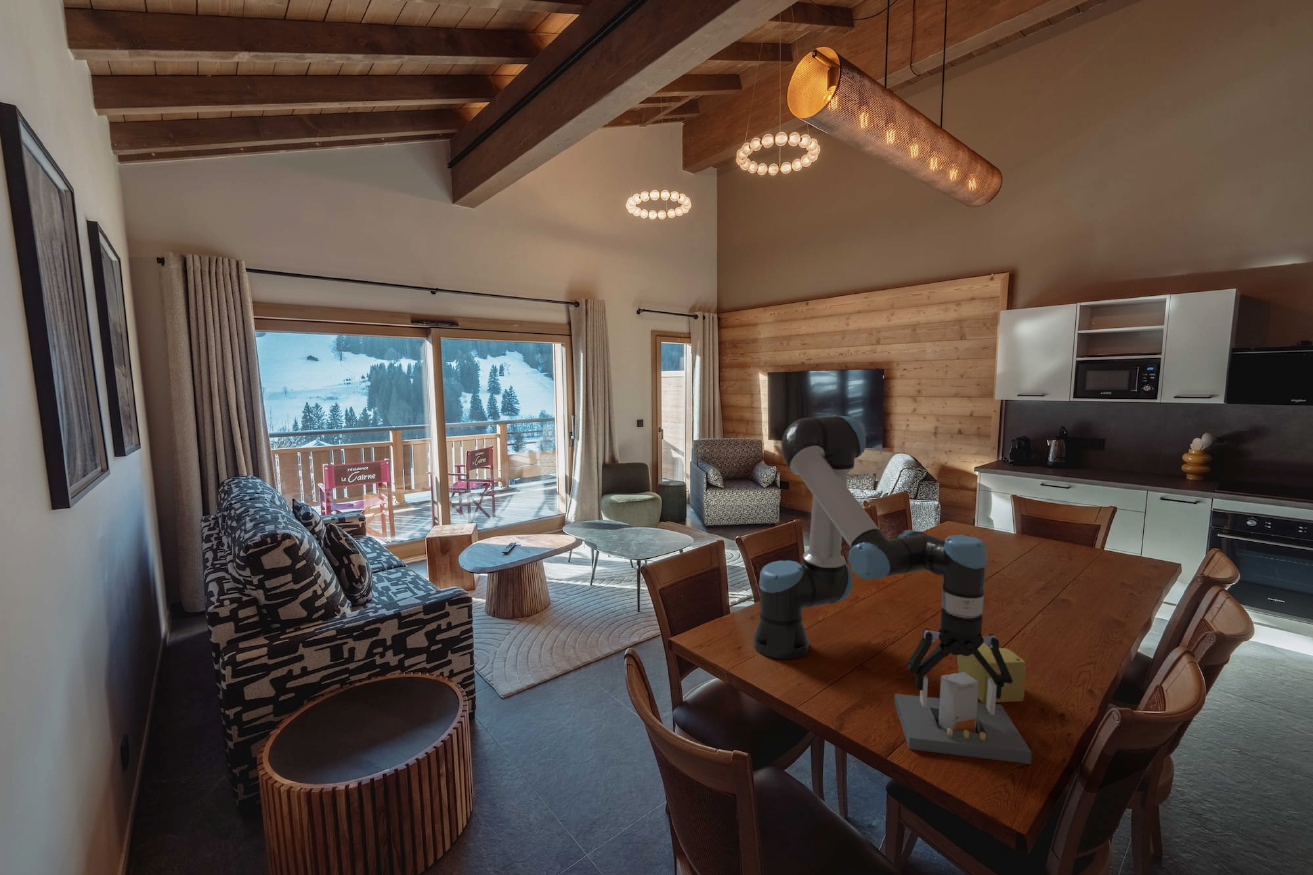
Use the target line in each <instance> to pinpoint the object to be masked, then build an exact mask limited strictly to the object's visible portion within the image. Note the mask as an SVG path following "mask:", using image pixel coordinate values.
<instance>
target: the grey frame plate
mask: <svg viewBox="0 0 1313 875" xmlns="http://www.w3.org/2000/svg"><path fill="white" fill-rule="evenodd" d="M939 705H940V697H929V696H927V707H922V704H921V701H920V695H913V694H912V695H910V694H903V693H902V694H901V693H894V706H895V710H896V712H897V716H898V718H899V721H900V725H901V728H902V732H903V736H904V738H905V741H906V744H907V747H908V750H911V751H912V750H913V751H921V752H929V753H930V752H931V753H937V754H939V753H940V754H945V755H953V756H954V755H955V756H963V757H970V758H976V759H977V758H978V759H985V760H995V761H1002V762H1010V763H1018V764H1027V765H1031V764H1032V750H1031V749H1030V748H1029V746H1028V744H1027V742H1026V741H1025V740H1024V738H1023V736H1022V735H1021V733H1020V732H1019V730H1018V729H1017V727H1016V725H1015V724H1014V723H1013V721H1012V719H1011V718H1010V716H1009V715H1008V713H1007V712H1006V710H1005V708H1004V707H1003V705H1002V704H997V703H995V715H991V714H990V713H989V711H988V709H987V708H986V703H983V702H981V701H980V702H978V701H977V717H976V729H977V731H978V732H979V733H978V732H976V733H972V732H969V731H968V730H964V731H954V730H953V729H951V728H947V730H946V729H940V728H939V727H938V723H937V721H936V720H939Z"/></svg>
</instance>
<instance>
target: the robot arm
mask: <svg viewBox="0 0 1313 875" xmlns="http://www.w3.org/2000/svg"><path fill="white" fill-rule="evenodd" d="M866 443H867V438H866V434H865V431H864V429H863V427H862V426H861V424H860V423H859V421H857V420H856V419H855V418H854V417H851V416H844V415H830V416H818V417H817V416H816V417H803V418H799V419H796V420H794V421H793V422H792V423H791V424H789V425H788V427H787V428H786V429H785V431H784V433H783V436H782V438H781V454H782V456H783V459H784V462H785V464H786V466H787V467H788V468H789V469H790V471H791V473H793V474H794V475H798V476H799V477H800V478H801V480H802V481H803V483H804V484H805V486H806V487H807V488H808V490H809V491H810V492H811V494H812V503H811V504H812V505H811V520H810V531H809V532H810V533H809V546H808V548H809V549H808V550H807V551H805V552H804V553H803V555H802V563H801V564H800V563H799V562H797V561H793V560H783V559H782V560H776V561H772V562H769V563H767V564H766V565H764V566H763V567H762V568H761V570H760V574H759V582H758V586H759V619H758V623H757V626H756V628H755V631H754V633H753V647H754V649H755V650H756V652H758V653H760V654H762V656H763V655H764V656H766V657H768V658H771V659H772V658H773V659H778V660H794V659H795V660H796V659H799V658H801V657H803V656H805V655H806V654H808V652H809V648H810V647H809V646H810V645H809V643H810V642H809V639H808V638H809V637H808V635H807V632H806V628H805V625H804V623H803V609H807V608H812V607H817V606H818V607H819V606H822V605H828V604H831V605H832V604H836V603H837V602H840V601H843V600H845V599H846V598H848V596H849V595H850V594H851V592H852V590H853V585H854V577H853V574H852V573H851V572H853V573H854V574H855V575H856V577H858V578H860V579H863V580H874V579H875V580H876V579H884V578H885V577H890V576H895V575H899V574H907V573H913V572H918V571H919V572H920V571H927V572H930V573H932V574H935V575H937V576H941V577H942V594H941V595H942V596H941V607H942V608H941V612H940V629H939V630H938V631H935V630H930V628H928V627H925V628H923V633H922V637H921V639H920V641H919V643H918V644H917V646H916V648H915V649H914V651H913V654H912V655H911V657H910V659H909V660H908V662H907V664H906V667H907V668H908V672H909V673H910V674H911V675H912V674H914V675H915V686H916V689H917V690H918V691H919V696H920V701H921V704H922V707H927V697H928V687H929V686H928V683H929V678H928V676H927V674H928V673H929V672H930V671H931V670H932V669H933V668H934V667H935V666H937V664H938V663H940V662H941V661H942V660H943V659H944V658H947V657H948V656H949V655H950V654H952V655H953V656H957V655H963V656H969V655H972V654H973V655H974V656H975V657H976V659H977V660H978V661H979V662H980V663H981V665H982V666H983V667H984V668H985V670H986V671H987V672H988V674H989V675H990V676H991V677H992V679H993V680H992V679H989V678H988V688H987V703H986V708H987V709H988V711H989V713H990V714H991V715H995V704H997V702H996V698H997V699H1000V697H1001V688H1002V687H1004V683H1012V682H1013V680H1012V678H1011V675H1010V673H1009V671H1008V669H1007V666H1006V664H1005V662H1004V660H1003V657H1002V655H1001V653H1000V651H999V648H1000V640H998V638H997V637H996V635H995V634H994V633H989V634H988V635H982V632H983V615H982V614H983V613H984V611H983V610H984V597H985V595H984V594H985V588H984V587H985V577H986V572H987V571H986V570H987V563H988V560H987V546H986V543H985V542H984V541H983V540H981V539H979V537H978V538H977V537H974V536H972V535H971V536H968V535H965V534H952V535H949V536H947V537H946V538H945V539H942V538H939V537H937V536H934V535H932V534H928V533H927V532H923V531H920V530H919V531H918V530H915V529H907V530H904V531H903V532H901V533H900V534H898V536H897V537H896V538H891V539H890V538H887V537H886V535H885V534H884V533H883V531H882V530H880V528H879V527H878V525H877V523H875V522H874V521H873V519H872V518H871V516H869V514H868V513H867V511H866V510H865V509H864V508H863V506H862V505H861V503H860V502H859V501H858V500H857V498H856V497H855V496H854V495H853V493H852V492H851V490H850V489H849V488H848V487H847V485H848V484H847V483H848V482H847V481H848V473H849V472H850V471H852V470H853V469H854V468H855V460H856V458H859V457H861V456H862V454H863V453H864V452H865V450H866V445H867V444H866ZM843 539H844V540H845V541H846V543H847V545H848V546H849V548H850V550H849V552H848V562H849V563H850V566H849V564H848V563H847V562H846V558H845V557H844V556H843V555H842V554H841V552H842V541H843ZM937 639H938V640H939V641H940V642H939V643H938V644H937V645H936V647H935V648H934V649H933V651H931V652H930V653H929V654H928V655H927V653H928V652H929V650H930V648H931V647H932V643H934V642H935V641H936V640H937ZM983 643H986V645H987V646H988V647H990V649H991V652H992V654H993V656H994V658H995V660H996V663H997V665H998V667H999V669H1000V672H1001V674H997V673H996V672H995V671H994V669H993V668H992V667H991V666H990V664H989V663H988V662H987V660H986V659H985V658H984V657H983V655H982V654H981V653H980V652H979V650H978V648H979V647H980V646H981V645H982V644H983ZM926 655H927V656H926Z"/></svg>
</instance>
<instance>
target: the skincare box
mask: <svg viewBox="0 0 1313 875" xmlns="http://www.w3.org/2000/svg"><path fill="white" fill-rule="evenodd" d="M978 685H979V682H978V681H977V680H975V679H974V678H972V677H971V676H969V675H968V674H966V673H965V672H962V673H959V672H958V673H957V672H956V673H950V674H945V675H941V676H940V689H939V692H940V693H939V698H940V705H939V719H938V723H937V725H938V728H939V729H946V730H947V728H951V729H953V730H954V731H964V730H968V731H969V732H972V733H977V732H976V731H977V730H976V729H977V727H976V717H977V702H978V699H979V698H978Z"/></svg>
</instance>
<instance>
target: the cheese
mask: <svg viewBox="0 0 1313 875" xmlns="http://www.w3.org/2000/svg"><path fill="white" fill-rule="evenodd" d="M978 650H979V652H980V653H981V654H982V655H983V657H984V658H985V659H986V660H987V662H988V663H989V664H990V666H991V667H992V668H993V669H994V671H995V672H996V673H997V674H1001V672H1000V669H999V667H998V665H997V663H996V660H995V658H994V656H993V654H992V652H991V649H990V647H988V646H987V645H986V643H984V642H983V644H982V645H981V646H980V647H979V648H978ZM999 651H1000V653H1001V655H1002V657H1003V660H1004V662H1005V664H1006V666H1007V669H1008V671H1009V673H1010V675H1011V678H1012V680H1013V682H1012V683H1004V687H1002V688H1001V697H1000V699H997V698H996V703H1009V702H1024V698H1025V690H1026V689H1025V688H1026V669H1027V668H1026V665H1027V664H1026V661H1025V660H1024V659H1022V658H1021V657H1020V656H1019V655H1017V654H1016V653H1015V652H1013V651H1012V650H1010V649H1009V648H1005V647H1004V648H1003V647H999ZM956 656H957V668H958V669H957V670H958V673H962V672H965V673H966V674H968V675H969V676H971V677H972V678H974V679H975V680H977V681H978V682H979V685H978V699H979V700H980V702H981V703H987V688H988V678H989V679H992V677H991V676H990V675H989V674H988V672H987V671H986V670H985V668H984V667H983V666H982V665H981V663H980V662H979V661H978V660H977V659H976V657H975V656H974V655H973V654H972V655H969V656H963V655H956ZM992 680H993V679H992Z"/></svg>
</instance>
